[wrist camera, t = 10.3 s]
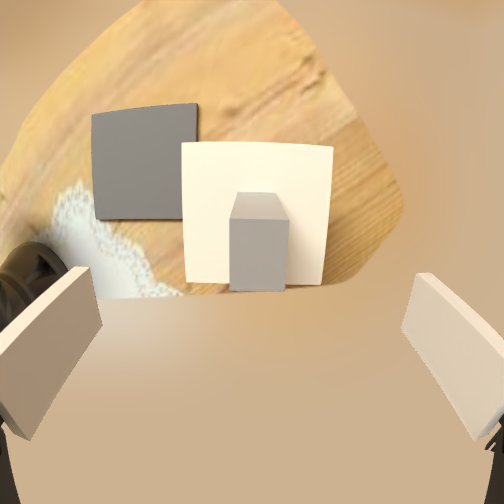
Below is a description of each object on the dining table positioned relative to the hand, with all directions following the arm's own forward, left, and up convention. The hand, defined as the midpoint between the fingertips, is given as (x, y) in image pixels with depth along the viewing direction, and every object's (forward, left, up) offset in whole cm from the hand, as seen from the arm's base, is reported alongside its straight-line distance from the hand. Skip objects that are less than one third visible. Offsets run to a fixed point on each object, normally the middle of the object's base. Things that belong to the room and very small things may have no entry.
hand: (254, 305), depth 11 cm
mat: (-14, +4, -26) cm, 29 cm away
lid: (0, 0, -15) cm, 15 cm away
